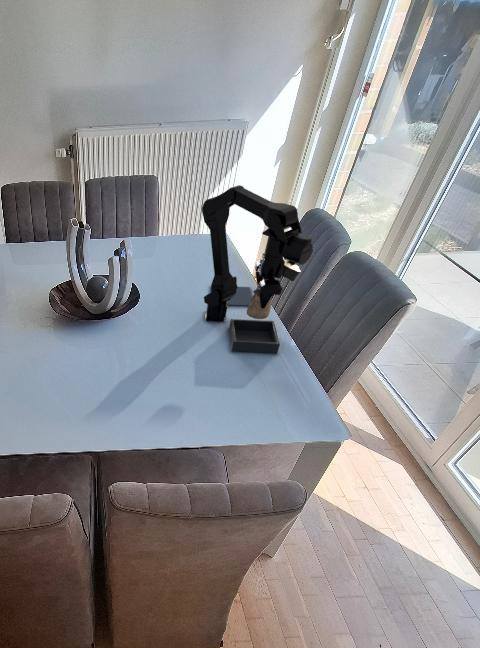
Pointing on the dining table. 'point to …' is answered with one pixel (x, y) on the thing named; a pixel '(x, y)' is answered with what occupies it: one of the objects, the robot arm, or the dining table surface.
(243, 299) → the mat
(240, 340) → the bin
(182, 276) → the dining table surface
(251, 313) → the figurine
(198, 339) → the dining table surface
